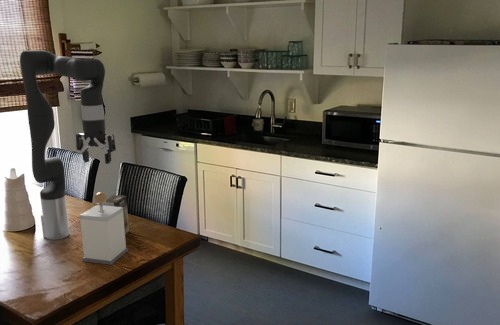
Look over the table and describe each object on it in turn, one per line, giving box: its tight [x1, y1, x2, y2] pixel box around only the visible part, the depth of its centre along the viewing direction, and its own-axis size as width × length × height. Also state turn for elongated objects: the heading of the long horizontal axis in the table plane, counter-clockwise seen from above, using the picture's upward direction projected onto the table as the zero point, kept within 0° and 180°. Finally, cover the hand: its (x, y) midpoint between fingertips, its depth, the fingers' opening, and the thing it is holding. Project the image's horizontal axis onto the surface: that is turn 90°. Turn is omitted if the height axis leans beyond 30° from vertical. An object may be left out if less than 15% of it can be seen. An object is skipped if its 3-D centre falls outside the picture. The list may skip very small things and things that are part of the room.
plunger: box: [93, 191, 108, 212], centre depth 174 cm, size 4×4×20 cm
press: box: [79, 204, 129, 266], centre depth 177 cm, size 12×15×18 cm
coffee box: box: [103, 194, 130, 235], centre depth 195 cm, size 9×6×16 cm
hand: (97, 162), depth 168 cm, fingers open, 8 cm apart
